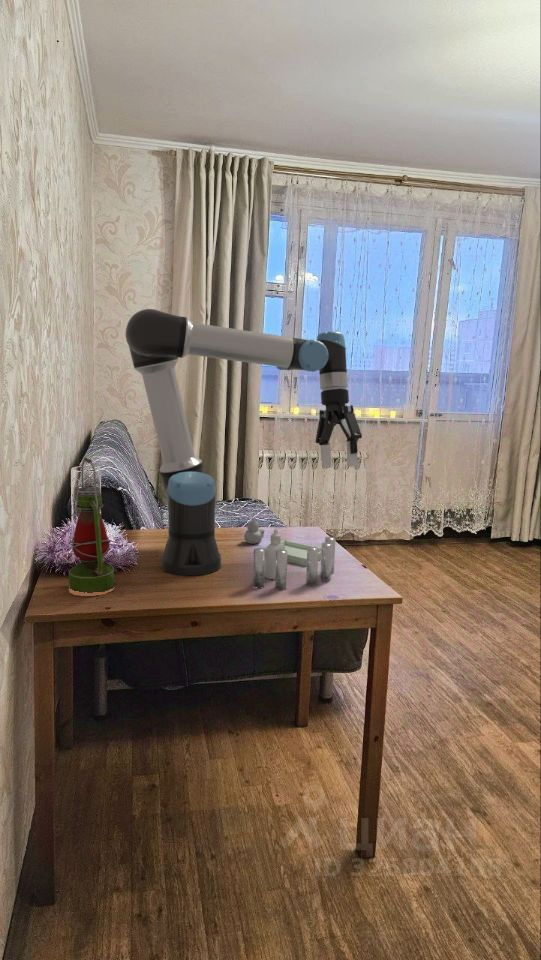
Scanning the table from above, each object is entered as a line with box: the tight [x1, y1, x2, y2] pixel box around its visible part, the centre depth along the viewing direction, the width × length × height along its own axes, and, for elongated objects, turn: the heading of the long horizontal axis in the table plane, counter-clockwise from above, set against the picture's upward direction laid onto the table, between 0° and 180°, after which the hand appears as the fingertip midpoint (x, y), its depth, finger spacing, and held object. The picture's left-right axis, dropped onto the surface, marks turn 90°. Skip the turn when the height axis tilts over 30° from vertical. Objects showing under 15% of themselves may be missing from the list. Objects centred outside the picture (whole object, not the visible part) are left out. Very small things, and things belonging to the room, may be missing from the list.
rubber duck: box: [243, 516, 266, 545], centre depth 183 cm, size 5×7×8 cm
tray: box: [263, 539, 322, 567], centre depth 172 cm, size 14×11×2 cm
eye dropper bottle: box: [264, 528, 285, 580], centre depth 155 cm, size 4×6×12 cm
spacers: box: [252, 536, 336, 591], centre depth 151 cm, size 7×23×9 cm, turn 122°
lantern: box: [68, 457, 116, 593], centre depth 142 cm, size 14×11×30 cm
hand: (339, 467), depth 174 cm, fingers open, 13 cm apart
